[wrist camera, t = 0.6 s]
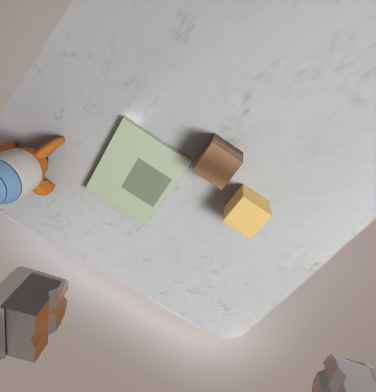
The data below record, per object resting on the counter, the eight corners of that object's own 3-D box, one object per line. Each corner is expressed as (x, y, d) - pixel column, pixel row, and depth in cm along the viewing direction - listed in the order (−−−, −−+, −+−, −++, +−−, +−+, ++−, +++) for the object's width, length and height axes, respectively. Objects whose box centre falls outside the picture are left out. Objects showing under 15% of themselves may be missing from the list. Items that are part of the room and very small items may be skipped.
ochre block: (243, 183, 51) (243, 196, 46) (269, 200, 51) (271, 215, 47) (224, 206, 53) (222, 221, 48) (249, 222, 53) (250, 239, 49)
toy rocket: (63, 121, 52) (25, 167, 39) (83, 178, 58) (55, 234, 45) (1, 129, 52) (-56, 176, 40) (27, 185, 58) (-16, 241, 46)
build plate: (125, 116, 49) (122, 118, 48) (192, 160, 50) (191, 163, 49) (88, 185, 55) (84, 188, 54) (148, 223, 56) (146, 227, 55)
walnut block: (215, 133, 48) (212, 142, 43) (242, 152, 49) (242, 162, 44) (196, 159, 50) (192, 170, 46) (223, 177, 51) (221, 190, 46)
